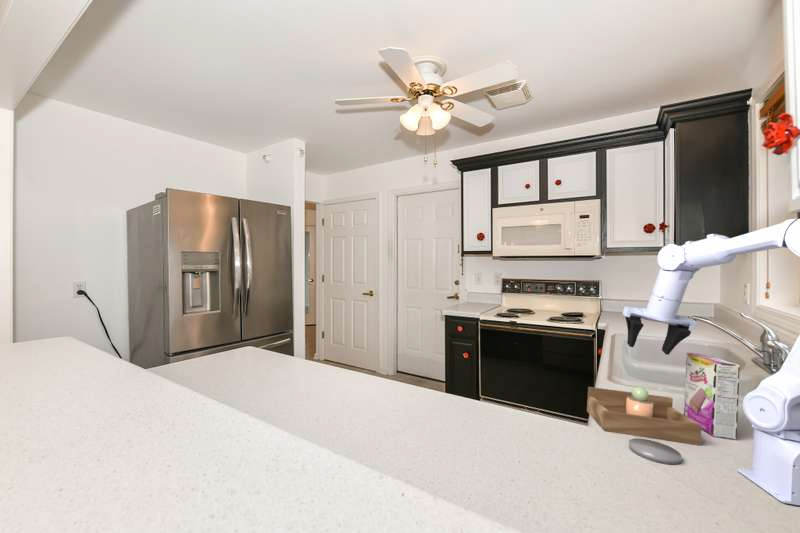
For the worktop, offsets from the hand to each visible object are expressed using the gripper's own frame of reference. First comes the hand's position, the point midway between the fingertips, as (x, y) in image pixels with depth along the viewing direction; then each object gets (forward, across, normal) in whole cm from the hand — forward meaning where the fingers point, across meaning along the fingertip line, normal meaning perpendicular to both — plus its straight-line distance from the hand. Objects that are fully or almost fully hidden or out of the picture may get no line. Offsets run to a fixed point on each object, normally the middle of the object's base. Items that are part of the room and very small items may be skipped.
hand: (647, 348), depth 85 cm
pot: (+15, +2, +10) cm, 18 cm away
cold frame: (+15, +2, +10) cm, 18 cm away
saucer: (+11, +5, +24) cm, 27 cm away
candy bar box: (+15, -16, +4) cm, 22 cm away
